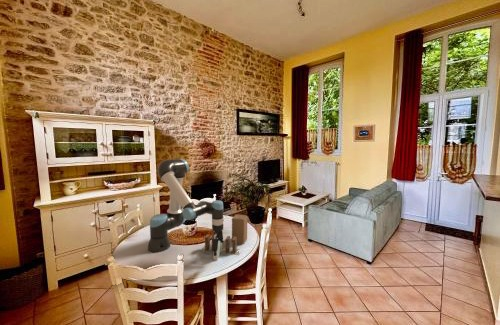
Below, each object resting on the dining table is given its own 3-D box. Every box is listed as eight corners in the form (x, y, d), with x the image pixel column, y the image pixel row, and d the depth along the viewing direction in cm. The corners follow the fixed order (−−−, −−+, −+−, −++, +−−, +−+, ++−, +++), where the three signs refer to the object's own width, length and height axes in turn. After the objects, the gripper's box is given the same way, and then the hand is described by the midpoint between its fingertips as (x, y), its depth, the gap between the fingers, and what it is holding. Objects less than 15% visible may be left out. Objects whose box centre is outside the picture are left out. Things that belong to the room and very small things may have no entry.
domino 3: (225, 252, 148) (225, 239, 147) (227, 249, 153) (227, 235, 152) (228, 253, 147) (228, 239, 147) (230, 249, 152) (230, 236, 151)
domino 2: (211, 251, 149) (211, 237, 148) (214, 247, 154) (214, 234, 153) (214, 251, 149) (214, 238, 148) (216, 248, 154) (216, 235, 153)
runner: (200, 251, 149) (200, 251, 149) (204, 246, 157) (204, 246, 157) (238, 255, 145) (238, 255, 145) (241, 249, 153) (241, 249, 153)
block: (247, 239, 170) (247, 215, 168) (243, 245, 160) (244, 219, 158) (235, 237, 172) (235, 213, 170) (231, 243, 163) (231, 218, 161)
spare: (215, 258, 141) (215, 244, 140) (217, 254, 146) (217, 240, 145) (218, 258, 141) (217, 244, 140) (220, 254, 146) (220, 240, 145)
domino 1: (205, 250, 150) (204, 237, 149) (207, 247, 155) (207, 234, 154) (207, 251, 150) (207, 237, 149) (210, 247, 155) (210, 234, 154)
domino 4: (232, 253, 147) (232, 239, 146) (234, 249, 152) (234, 236, 151) (235, 253, 147) (235, 239, 146) (236, 250, 152) (236, 236, 151)
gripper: (218, 231, 130) (218, 265, 132) (227, 218, 152) (227, 247, 154) (206, 230, 131) (206, 264, 134) (217, 217, 153) (217, 246, 156)
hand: (218, 255), depth 144 cm, fingers open, 10 cm apart
